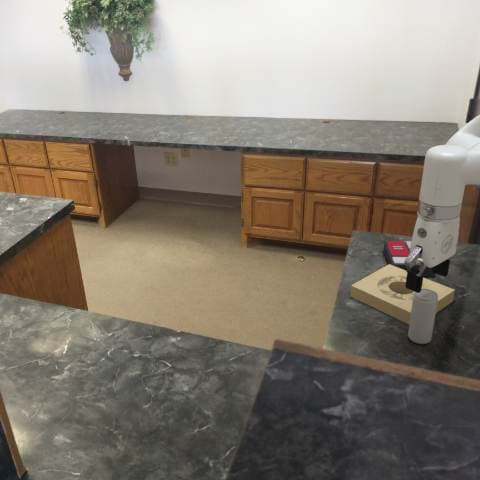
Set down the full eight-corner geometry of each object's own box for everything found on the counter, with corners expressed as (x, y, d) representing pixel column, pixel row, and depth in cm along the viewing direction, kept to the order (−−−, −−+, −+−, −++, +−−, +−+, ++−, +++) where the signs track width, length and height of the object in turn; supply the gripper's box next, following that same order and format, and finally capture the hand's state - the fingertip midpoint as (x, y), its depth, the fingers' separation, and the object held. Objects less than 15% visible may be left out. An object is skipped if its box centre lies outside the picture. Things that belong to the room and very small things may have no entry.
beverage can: (404, 339, 116) (410, 295, 110) (412, 329, 119) (419, 286, 113) (426, 348, 112) (433, 302, 107) (434, 337, 115) (442, 292, 110)
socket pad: (452, 301, 127) (455, 289, 125) (414, 327, 119) (416, 315, 118) (388, 275, 140) (389, 264, 139) (350, 296, 133) (351, 285, 132)
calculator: (424, 239, 148) (437, 262, 135) (423, 253, 150) (435, 277, 137) (384, 239, 151) (393, 261, 138) (383, 252, 153) (391, 276, 140)
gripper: (431, 227, 94) (419, 304, 102) (481, 201, 102) (466, 274, 110) (395, 215, 100) (385, 289, 108) (444, 192, 108) (432, 262, 116)
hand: (426, 281), depth 109 cm, fingers open, 9 cm apart
